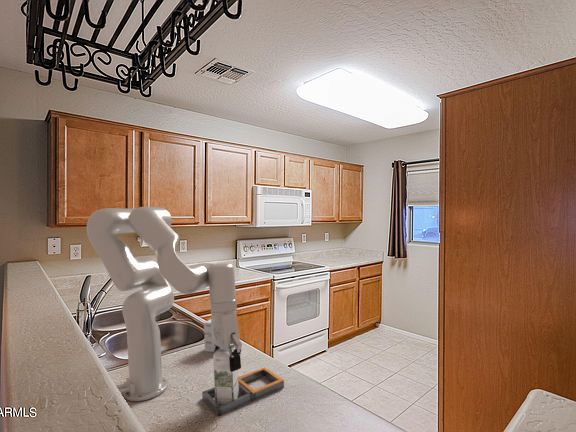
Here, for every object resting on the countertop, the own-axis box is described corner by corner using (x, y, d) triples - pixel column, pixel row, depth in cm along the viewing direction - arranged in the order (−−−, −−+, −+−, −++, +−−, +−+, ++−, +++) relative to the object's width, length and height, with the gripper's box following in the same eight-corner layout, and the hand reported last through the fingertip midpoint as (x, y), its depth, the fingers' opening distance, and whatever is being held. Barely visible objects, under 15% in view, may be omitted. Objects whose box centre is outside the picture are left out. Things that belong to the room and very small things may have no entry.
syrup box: (239, 394, 96) (237, 346, 96) (234, 405, 90) (231, 354, 90) (221, 394, 96) (218, 346, 96) (214, 405, 90) (212, 354, 90)
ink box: (229, 348, 130) (227, 319, 130) (222, 353, 126) (221, 323, 126) (211, 346, 133) (209, 318, 133) (204, 351, 128) (203, 322, 128)
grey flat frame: (217, 416, 85) (217, 407, 85) (202, 398, 94) (202, 390, 94) (283, 387, 98) (283, 379, 98) (265, 374, 107) (264, 367, 107)
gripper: (200, 303, 98) (204, 359, 98) (224, 314, 84) (229, 379, 84) (223, 298, 102) (226, 351, 102) (249, 308, 88) (254, 369, 88)
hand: (228, 364), depth 93 cm, fingers open, 9 cm apart
